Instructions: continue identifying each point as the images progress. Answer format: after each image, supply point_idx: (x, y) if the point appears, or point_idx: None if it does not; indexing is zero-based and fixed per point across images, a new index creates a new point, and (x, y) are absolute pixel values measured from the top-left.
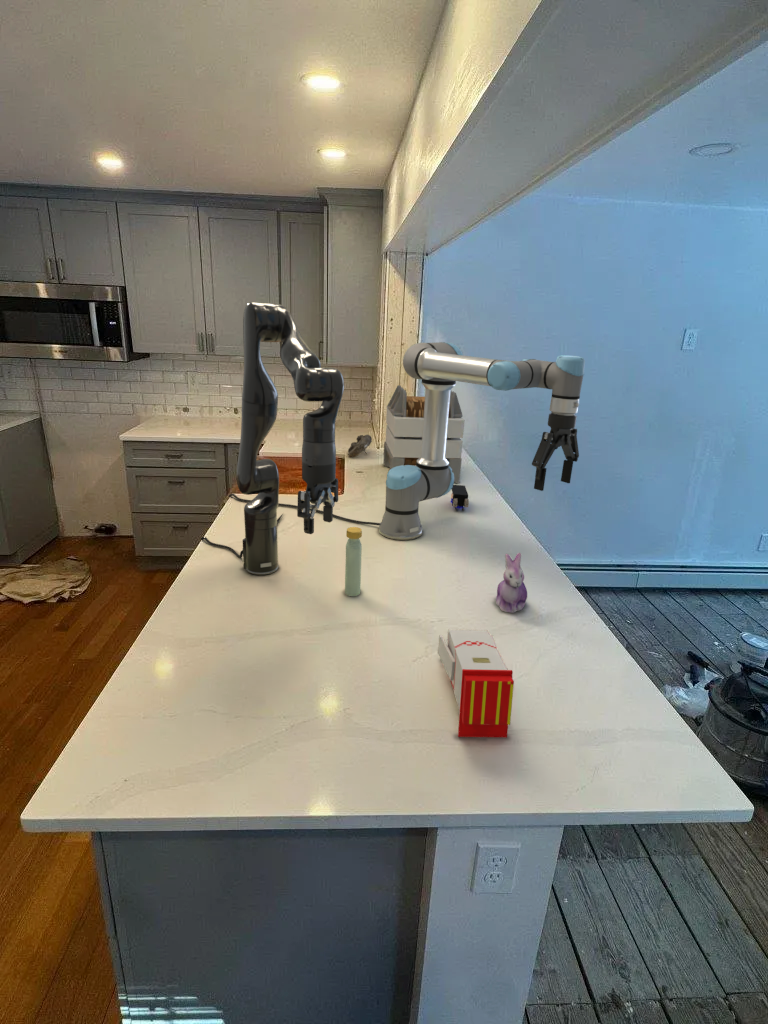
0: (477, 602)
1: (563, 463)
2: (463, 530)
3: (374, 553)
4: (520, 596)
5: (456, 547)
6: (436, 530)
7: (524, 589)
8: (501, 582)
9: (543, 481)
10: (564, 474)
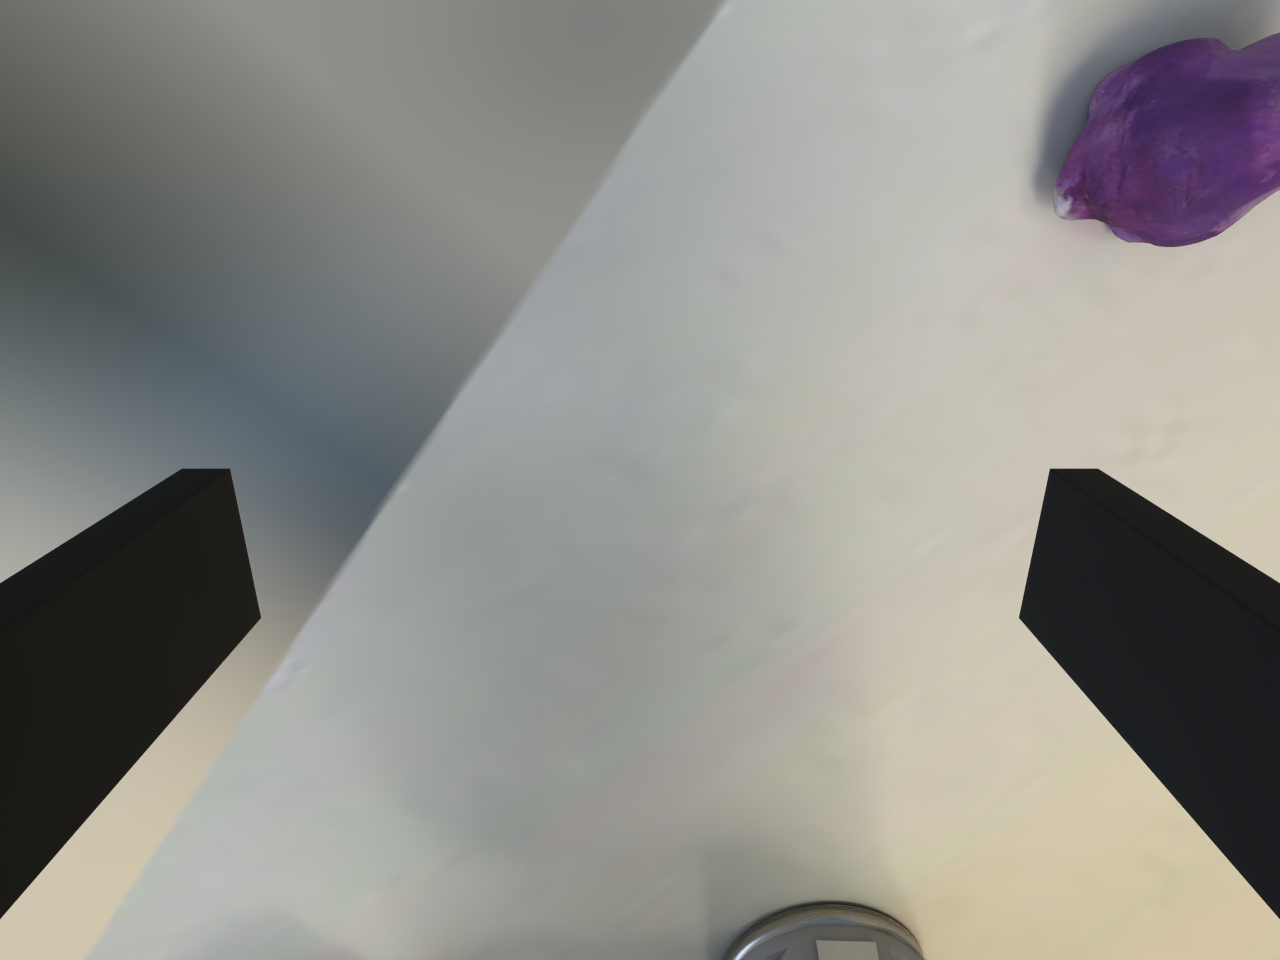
0: (1248, 276)
1: (12, 899)
2: (536, 857)
3: (1106, 889)
4: (1269, 36)
5: (745, 749)
6: (656, 917)
7: (1223, 50)
8: (1231, 219)
9: (1215, 547)
10: (172, 648)
